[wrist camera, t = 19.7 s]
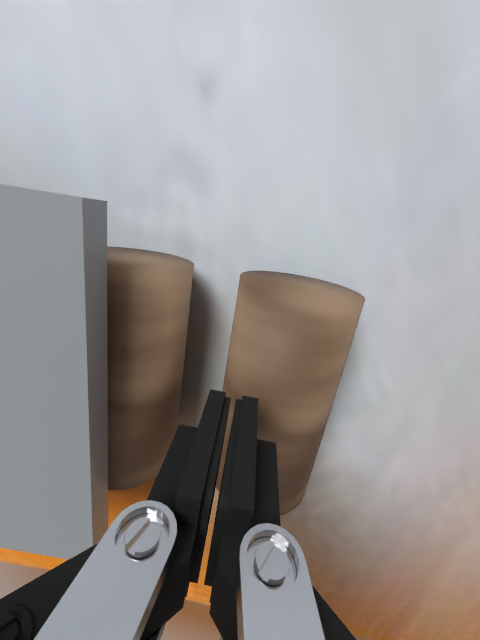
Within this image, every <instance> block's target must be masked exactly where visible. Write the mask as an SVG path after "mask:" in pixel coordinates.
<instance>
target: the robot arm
mask: <svg viewBox="0 0 480 640" xmlns="http://www.w3.org/2000/svg"><path fill="white" fill-rule="evenodd" d="M225 396H226V392H221V391H216V390H210V392H209V396H208V399H207V402H206V405H205V408H204V411H203V414H202V417H201V420H200V423H199V426H198V428H195V427H190V426H185V425H179V426H178V428H177V431H176V433H175V435H174V438H173V440H172V442H171V445H170V447H169V450H168V452H167V454H166V457H165V459H164V461H163V464H162V466H161V468H160V471H159V473H158V475H157V478H156V480H155V483H154V485H153V487H152V490H151V492H150V494H149V497H148V499H147V501H140V502H138V503H135V504H132V505H130V506H129V507H127V508H126V509H125V510H123V511H122V512H121V513H120V514H119V515H118V516H117V517H116V519H115V520H114V521H113V522H112V524H111V525H110V527H109V528H108V530H107V531H106V533H105V534H104V536H103V537H102V539H101V540H100V542H99V543H97V544H95V545H94V546H92V547H90V548H88V549H87V550H85V551H83V552H81V553H80V554H78V555H76V556H74V557H73V558H71V559H69V560H67V561H66V562H64V563H62V564H61V565H59V566H57V567H55V568H54V569H52V570H50V571H48V572H47V573H45V574H43V575H41V576H40V577H38V578H36V579H34V580H33V581H31V582H29V583H28V584H26V585H24V586H22V587H21V588H19V589H17V590H15V591H14V592H12V593H10V594H9V595H7V596H5V597H3V598H1V599H0V640H160V639H161V636H162V634H163V631H164V628H165V624H166V622H167V621H168V620H169V619H170V618H172V617H173V616H174V615H175V614H176V613H177V612H178V611H180V610H181V609H182V608H183V604H184V600H185V597H186V596H187V592H188V587H189V582H194V583H198V578H199V573H200V567H201V562H202V557H203V551H204V546H205V541H206V535H207V530H208V524H209V519H210V514H211V508H212V503H213V498H214V492H215V487H216V482H217V476H218V471H219V465H220V460H221V454H222V448H223V442H224V437H225V431H226V425H227V419H228V413H229V408H230V402H231V398H230V397H225ZM257 423H258V398H254V397H249V396H243V397H242V400H241V399H236V402H235V408H234V413H233V419H232V424H231V430H230V435H229V441H228V447H227V452H226V458H225V464H224V469H223V475H222V481H221V487H220V493H219V499H218V505H217V511H216V517H215V523H214V529H213V535H212V541H211V547H210V553H209V559H208V565H207V571H206V577H205V583H204V585H208V586H212V591H211V598H210V602H211V606H210V615H211V617H212V619H213V621H214V623H215V625H216V627H217V628H218V630H219V632H220V640H356V639H355V637H354V636H353V635H352V634H351V633H350V631H349V630H348V629H347V628H346V626H345V625H344V624H343V623H342V621H341V620H340V619H339V618H338V617H337V615H336V614H335V613H334V612H333V610H332V609H331V608H330V607H329V605H328V604H327V603H326V602H325V601H324V599H323V598H322V597H321V596H320V594H319V593H318V592H317V591H316V589H315V588H314V587H313V586H312V584H311V580H310V576H309V572H308V568H307V564H306V560H305V557H304V554H303V551H302V549H301V547H300V545H299V544H298V542H297V541H296V539H295V538H294V537H293V536H292V535H291V534H290V533H289V532H288V531H287V530H286V529H284V528H282V527H280V509H279V489H278V469H277V450H276V443H275V442H270V441H265V440H259V439H257Z"/></svg>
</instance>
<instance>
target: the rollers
mask: <svg viewBox="0 0 480 640" xmlns="http://www.w3.org/2000/svg"><path fill="white" fill-rule="evenodd" d="M193 269H194V264H193V263H192V262H191V261H189V260H187V259H184V258H181V257H178V256H174V255H170V254H165V253H160V252H154V251H148V250H140V249H132V248H121V247H107V365H108V490H123V489H129V488H134V487H137V486H140V485H142V484H144V483H147V482H149V481H150V480H152V479H154V478H155V477H157V475H158V473H159V471H160V468H161V466H162V464H163V461H164V459H165V457H166V454H167V452H168V450H169V447H170V445H171V442H172V440H173V438H174V435H175V433H176V431H177V428H178V421H179V411H180V401H181V391H182V381H183V370H184V360H185V350H186V340H187V330H188V319H189V309H190V299H191V289H192V279H193ZM364 301H365V298H364V297H363V296H362V295H361V294H359V293H357V292H355V291H353V290H351V289H348V288H346V287H343V286H340V285H337V284H334V283H330V282H327V281H323V280H319V279H314V278H310V277H305V276H300V275H294V274H288V273H280V272H270V271H248V272H244V273H242V274H241V275H240V281H239V288H238V294H237V301H236V307H235V313H234V320H233V326H232V333H231V339H230V346H229V352H228V359H227V365H226V372H225V378H224V385H223V391H222V392H226V396H225V397H230V398H231V402H230V408H229V413H228V419H227V425H226V431H225V437H224V442H223V448H222V454H221V460H220V465H219V471H218V476H217V482H216V488H217V489H218V491H219V492H220V487H221V481H222V475H223V469H224V464H225V458H226V452H227V447H228V441H229V435H230V430H231V424H232V419H233V413H234V408H235V402H236V399H241V400H242V397H243V396H249V397H254V398H258V423H257V439H259V440H265V441H270V442H275V443H276V450H277V469H278V489H279V509H280V515H283V514H286V513H288V512H290V511H292V510H293V509H294V508H296V507H297V506H298V504H299V503H300V502H301V500H302V499H303V496H304V494H305V491H306V487H307V484H308V481H309V478H310V475H311V471H312V468H313V465H314V462H315V459H316V455H317V452H318V449H319V446H320V442H321V439H322V436H323V433H324V430H325V426H326V423H327V420H328V417H329V414H330V410H331V407H332V404H333V401H334V398H335V394H336V391H337V388H338V385H339V382H340V378H341V375H342V372H343V369H344V366H345V362H346V359H347V356H348V353H349V350H350V346H351V343H352V340H353V337H354V333H355V330H356V327H357V324H358V321H359V317H360V314H361V311H362V308H363V305H364Z"/></svg>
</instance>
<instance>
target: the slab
mask: <svg viewBox="0 0 480 640" xmlns="http://www.w3.org/2000/svg"><path fill="white" fill-rule="evenodd" d="M107 530H108V365H107V201H101V200H95V199H89V198H83V197H77V196H71V195H65V194H58V193H52V192H46V191H40V190H34V189H28V188H22V187H15V186H9V185H3V184H0V548H6V549H12V550H17V551H23V552H29V553H34V554H40V555H45V556H51V557H57V558H62V559H68V560H69V559H71V558H73V557H74V556H76V555H78V554H80V553H81V552H83V551H85V550H87V549H88V548H90V547H92V546H94V545H95V544H97V543H99V542H100V540H101V539H102V537H103V536H104V534H105V533H106V531H107Z"/></svg>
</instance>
